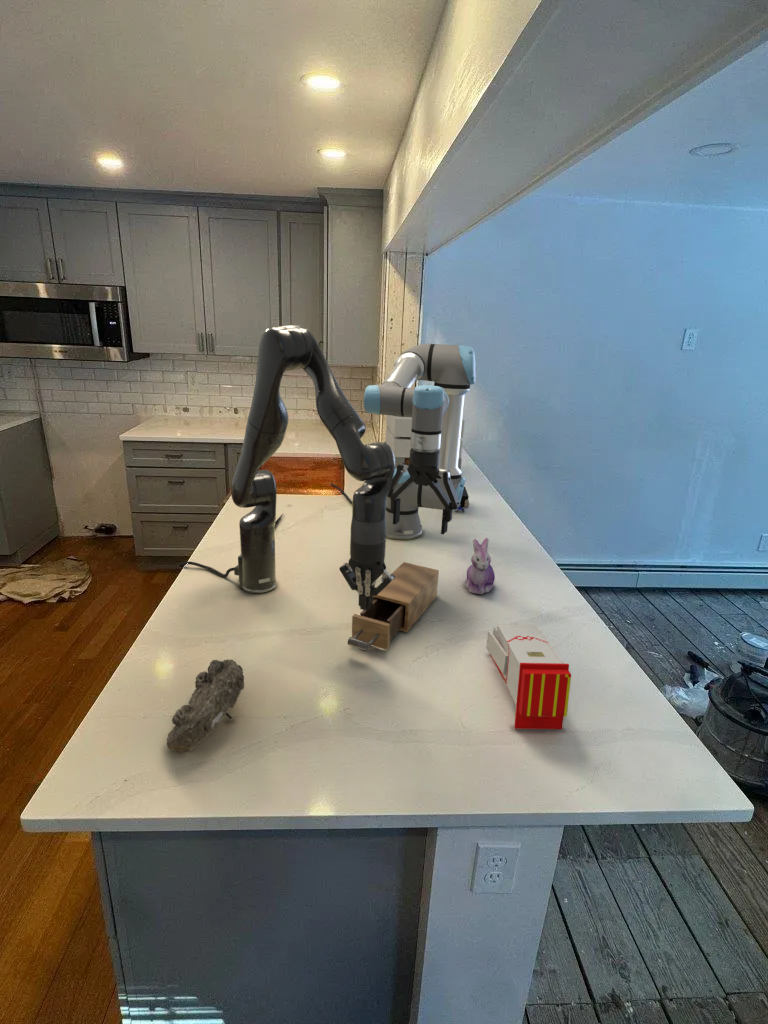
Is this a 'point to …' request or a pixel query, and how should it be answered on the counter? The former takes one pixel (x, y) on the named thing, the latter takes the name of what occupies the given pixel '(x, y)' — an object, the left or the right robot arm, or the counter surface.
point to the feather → (278, 520)
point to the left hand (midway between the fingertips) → (365, 608)
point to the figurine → (480, 569)
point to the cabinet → (411, 590)
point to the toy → (531, 675)
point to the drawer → (377, 624)
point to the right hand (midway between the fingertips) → (419, 527)
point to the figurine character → (464, 501)
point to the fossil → (206, 705)
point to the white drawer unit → (405, 438)
